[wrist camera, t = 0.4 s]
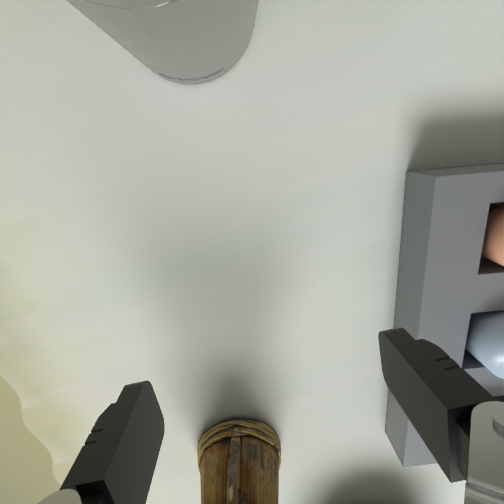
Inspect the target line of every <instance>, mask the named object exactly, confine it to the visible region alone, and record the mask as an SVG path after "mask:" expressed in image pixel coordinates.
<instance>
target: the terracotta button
mask: <svg viewBox="0 0 504 504" xmlns="http://www.w3.org/2000/svg"><path fill="white" fill-rule="evenodd" d="M481 254H482V255H483V256H484V257H486V258H487V259H489V260H491V261H494V262H496V263H498V264H500V265H502V266H504V205H502V206H500V207H498V208H496V209H495V210H493V211H492V212H491V213H490V214H489V215H488V217H487V223H486V229H485V235H484V241H483V246H482V252H481Z"/></svg>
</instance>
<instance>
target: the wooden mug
mask: <svg viewBox="0 0 504 504" xmlns="http://www.w3.org/2000/svg"><path fill="white" fill-rule="evenodd" d="M280 464H281V447H280V441H279V438H278V436H277V435H276V433H275V432H274V430H273V429H272V428H271V427H269V426H268V425H266V424H265V423H263V422H259V421H255V420H248V419H236V420H227V421H224V422H221V423H219V424H217V425H215V426H213V427H211V428H210V429H209V430H208V431H207V432H206V433H204V434H203V435H202V437H201V440H200V442H199V445H198V467H199V471H200V474H201V504H278V485H279V468H280Z"/></svg>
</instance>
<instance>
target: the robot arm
mask: <svg viewBox="0 0 504 504" xmlns="http://www.w3.org/2000/svg"><path fill="white" fill-rule="evenodd" d="M67 1H68V2H69V3H70V4H72V5H73V6H74V7H75V8H76V9H78V10H79V11H80V12H81V13H82V14H84V15H85V16H86V17H87V18H88V19H90V20H91V21H92V22H93V23H95V24H96V25H97V26H98V27H99V28H101V29H102V30H103V31H104V32H105V33H107V34H108V35H109V36H110V37H111V38H113V39H114V40H115V41H116V42H117V43H119V44H120V45H121V46H122V47H124V48H125V49H126V50H127V51H128V52H130V53H131V54H132V55H133V56H134V57H136V58H137V59H138V60H139V61H141V62H142V63H143V64H144V65H146V66H147V67H148V68H149V69H151V70H152V71H153V72H154V73H156V74H158V75H159V76H161V77H163V78H165V79H167V80H170V81H173V82H177V83H181V84H201V83H206V82H210V81H212V80H214V79H216V78H218V77H221V76H222V75H223V74H225V73H226V72H227V71H229V70H230V69H231V68H232V67H233V66H234V65H235V64H236V63H237V61H238V60H239V59H240V58H241V57H242V55H243V53H244V51H245V49H246V47H247V45H248V43H249V41H250V37H251V34H252V31H253V27H254V22H255V16H256V10H257V6H258V0H67ZM379 346H380V355H381V363H382V371H383V375H384V379H385V381H386V384H387V386H388V388H389V390H390V391H391V393H392V394H393V396H394V397H395V399H396V400H397V402H398V403H399V405H400V406H401V408H402V409H403V411H404V412H405V414H406V416H407V417H408V419H409V420H410V422H411V423H412V425H413V426H414V428H415V429H416V431H417V432H418V434H419V435H420V437H421V438H422V440H423V441H424V443H425V444H426V446H427V447H428V449H429V450H430V452H431V453H432V455H433V456H434V458H435V460H436V461H437V463H438V464H439V466H440V467H441V469H442V470H443V472H444V473H445V475H446V476H447V478H448V479H449V481H450V482H451V483H452V482H457V481H462V480H466V481H467V482H466V486H465V499H464V504H504V402H499V401H497V400H496V399H495V398H494V397H493V396H492V395H491V394H490V393H489V392H488V391H487V390H485V389H484V388H483V387H482V386H481V385H480V384H479V383H478V382H477V381H476V380H475V379H474V378H473V377H471V376H470V375H469V374H468V373H467V372H466V371H465V370H464V369H463V368H460V366H459V364H457V363H456V362H455V361H454V360H453V359H451V358H450V356H449V355H448V354H447V353H446V352H445V351H443V350H442V349H441V348H440V347H439V346H437V345H435V344H433V343H431V342H429V341H427V340H425V339H419V340H415V339H414V338H413V337H412V336H411V335H410V334H409V333H408V332H407V331H406V330H405V329H404V328H402V327H400V328H395V329H390V330H386V331H381V332H379ZM163 436H164V419H163V415H162V412H161V409H160V406H159V404H158V401H157V398H156V395H155V393H154V390H153V387H152V385H151V383H150V382H149V381H143V382H138V383H133V384H129V385H126V386H124V388H123V390H122V392H121V394H120V396H119V398H118V400H117V402H116V403H113V404H111V405H110V406H109V407H108V408H107V409H106V410H105V411H104V412H103V413H102V414H101V415H100V416H99V417H98V419H97V421H96V423H95V425H94V427H93V429H92V430H91V434H89V436H88V438H87V440H86V442H85V446H83V447H82V449H81V451H80V453H79V455H78V456H77V458H76V460H75V462H74V464H73V466H72V468H71V469H70V471H69V473H68V475H67V477H66V479H65V481H64V482H63V484H62V486H61V488H60V490H59V491H57V492H55V493H53V494H51V495H49V496H48V497H46V498H44V499H43V500H42V501H40V502H39V503H38V504H145V503H146V500H147V496H148V492H149V488H150V485H151V481H152V477H153V473H154V470H155V466H156V462H157V459H158V455H159V451H160V447H161V444H162V440H163Z"/></svg>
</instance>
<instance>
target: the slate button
mask: <svg viewBox="0 0 504 504" xmlns="http://www.w3.org/2000/svg"><path fill="white" fill-rule="evenodd" d="M465 349H466V350H467V351H469V352H470V353H471V354H472V355H473V356H474V357H475V358H476V359H477V360H478V361H480V362H481V363H482V364H483V365H484V366H485V367H486V368H487V369H488V370H490V371H491V372H492V373H493V374H494V375H495V376H497V377H499V378H503V379H504V310H499V311H489V312H478V313H475V314H474V315H473V316H471V317H470V321H469V327H468V333H467V339H466V345H465Z"/></svg>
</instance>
